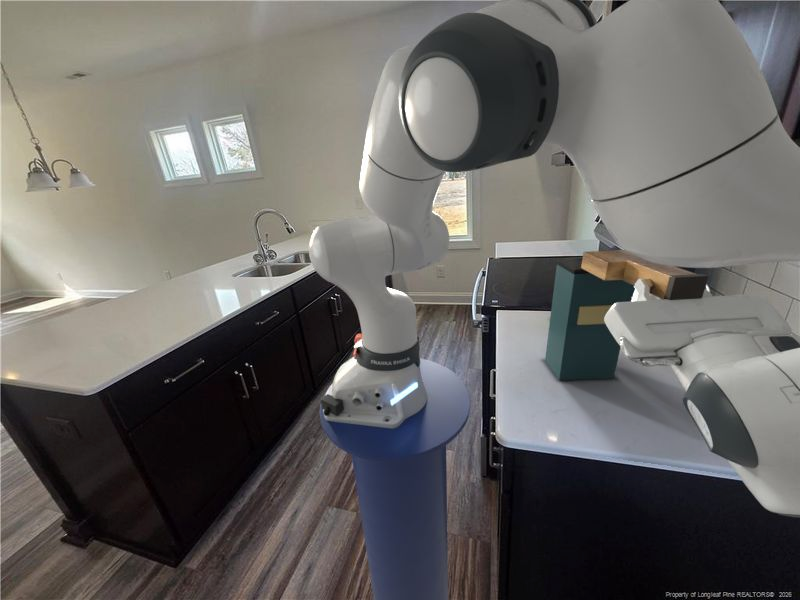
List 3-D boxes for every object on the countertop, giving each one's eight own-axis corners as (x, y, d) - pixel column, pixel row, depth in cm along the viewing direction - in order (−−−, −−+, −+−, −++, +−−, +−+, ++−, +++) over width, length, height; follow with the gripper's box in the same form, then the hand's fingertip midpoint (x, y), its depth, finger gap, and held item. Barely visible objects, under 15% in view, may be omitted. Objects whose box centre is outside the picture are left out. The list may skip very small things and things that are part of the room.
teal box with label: (558, 381, 71) (574, 269, 61) (543, 360, 79) (555, 258, 69) (616, 379, 70) (642, 266, 61) (594, 358, 78) (614, 255, 69)
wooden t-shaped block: (647, 305, 44) (653, 278, 43) (580, 269, 62) (583, 249, 60) (721, 302, 44) (730, 274, 42) (633, 266, 61) (637, 246, 60)
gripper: (620, 377, 43) (582, 296, 51) (778, 368, 42) (713, 288, 50) (645, 355, 38) (598, 270, 46) (825, 345, 37) (745, 260, 45)
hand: (659, 279), depth 48 cm, fingers closed on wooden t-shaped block, 4 cm apart
